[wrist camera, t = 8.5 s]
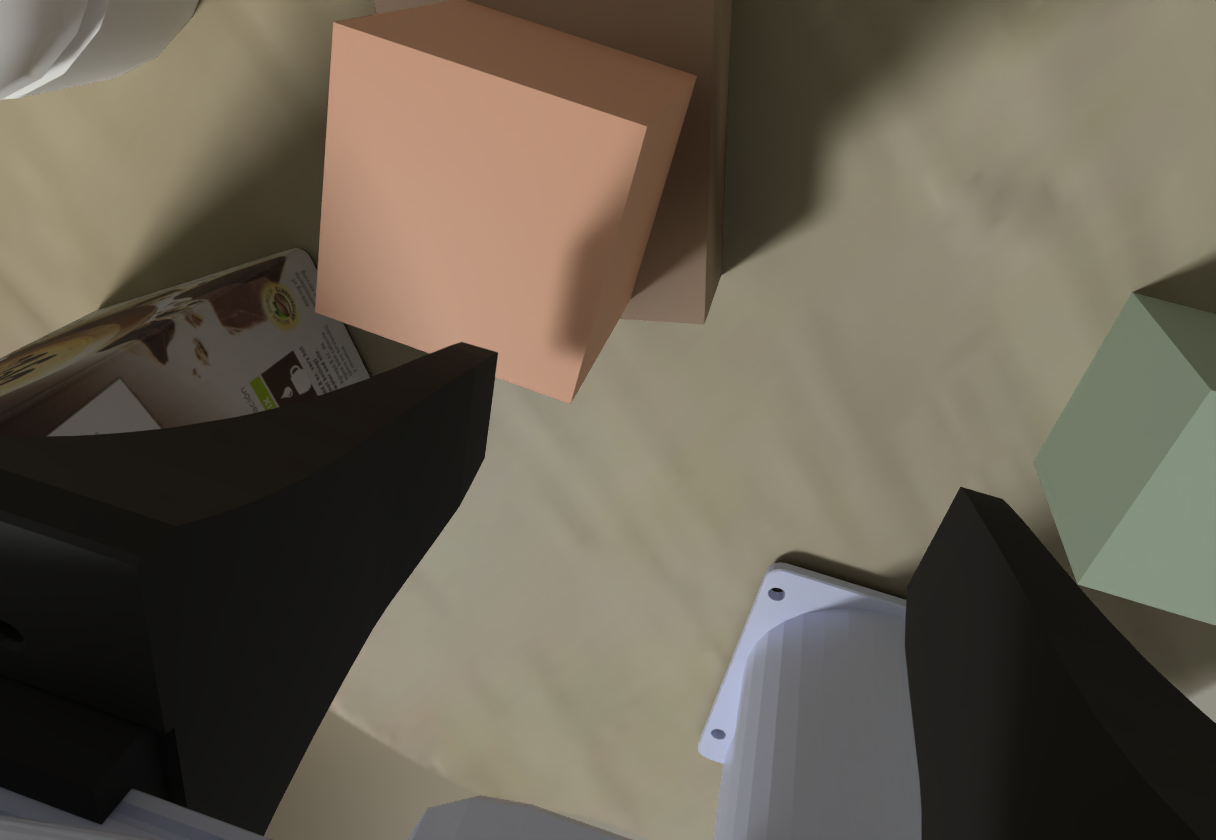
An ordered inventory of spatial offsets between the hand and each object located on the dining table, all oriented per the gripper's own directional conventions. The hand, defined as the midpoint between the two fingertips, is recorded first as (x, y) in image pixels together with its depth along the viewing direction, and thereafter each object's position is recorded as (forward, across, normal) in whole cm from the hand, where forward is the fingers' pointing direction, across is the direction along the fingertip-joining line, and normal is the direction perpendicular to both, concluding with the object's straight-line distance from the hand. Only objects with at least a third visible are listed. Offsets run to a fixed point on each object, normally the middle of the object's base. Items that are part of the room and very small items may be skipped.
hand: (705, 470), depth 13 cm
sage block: (+10, -11, +1) cm, 15 cm away
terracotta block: (+7, +5, -2) cm, 9 cm away
